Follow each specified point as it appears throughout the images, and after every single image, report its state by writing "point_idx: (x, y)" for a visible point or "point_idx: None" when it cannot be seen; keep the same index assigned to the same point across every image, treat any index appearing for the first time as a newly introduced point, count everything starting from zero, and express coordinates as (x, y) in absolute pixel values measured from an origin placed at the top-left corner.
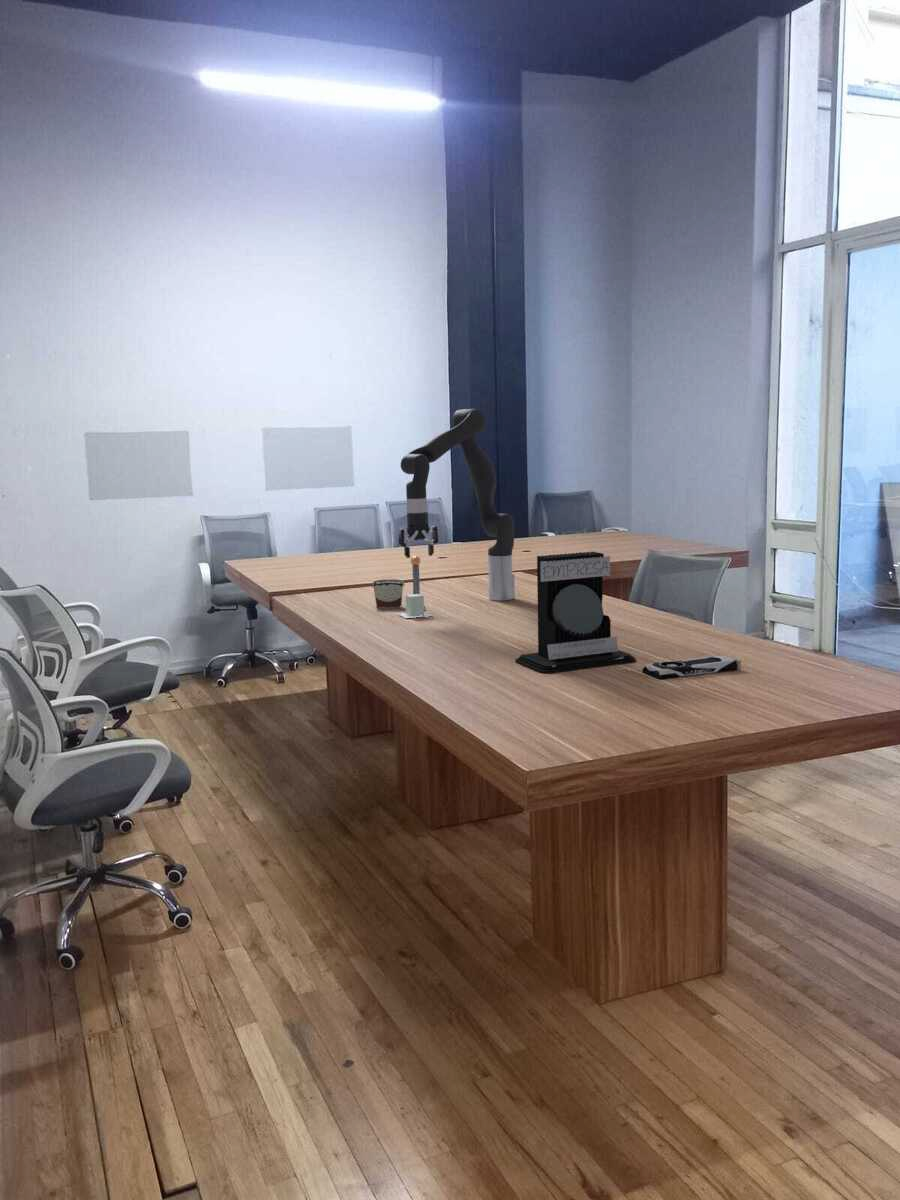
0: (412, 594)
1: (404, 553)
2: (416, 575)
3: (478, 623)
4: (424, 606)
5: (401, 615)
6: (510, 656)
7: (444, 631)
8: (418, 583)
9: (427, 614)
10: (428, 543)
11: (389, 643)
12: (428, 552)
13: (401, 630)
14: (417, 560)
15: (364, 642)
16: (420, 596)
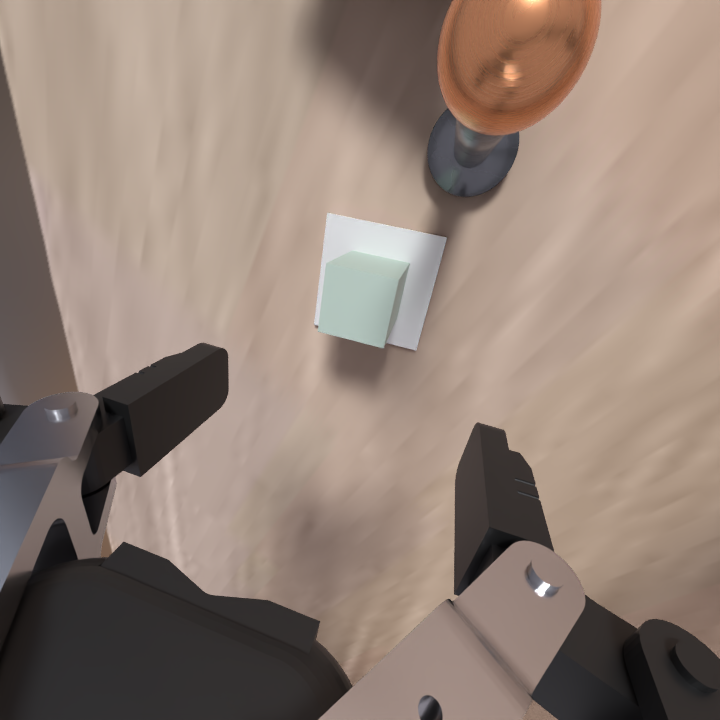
0: (361, 276)
1: (153, 363)
2: (472, 139)
3: (448, 520)
4: (505, 169)
5: (324, 263)
6: None
7: (316, 519)
8: (485, 149)
9: (413, 318)
10: (496, 562)
11: (172, 513)
12: (480, 440)
13: (235, 442)
14: (491, 131)
15: (131, 475)
16: (368, 343)
